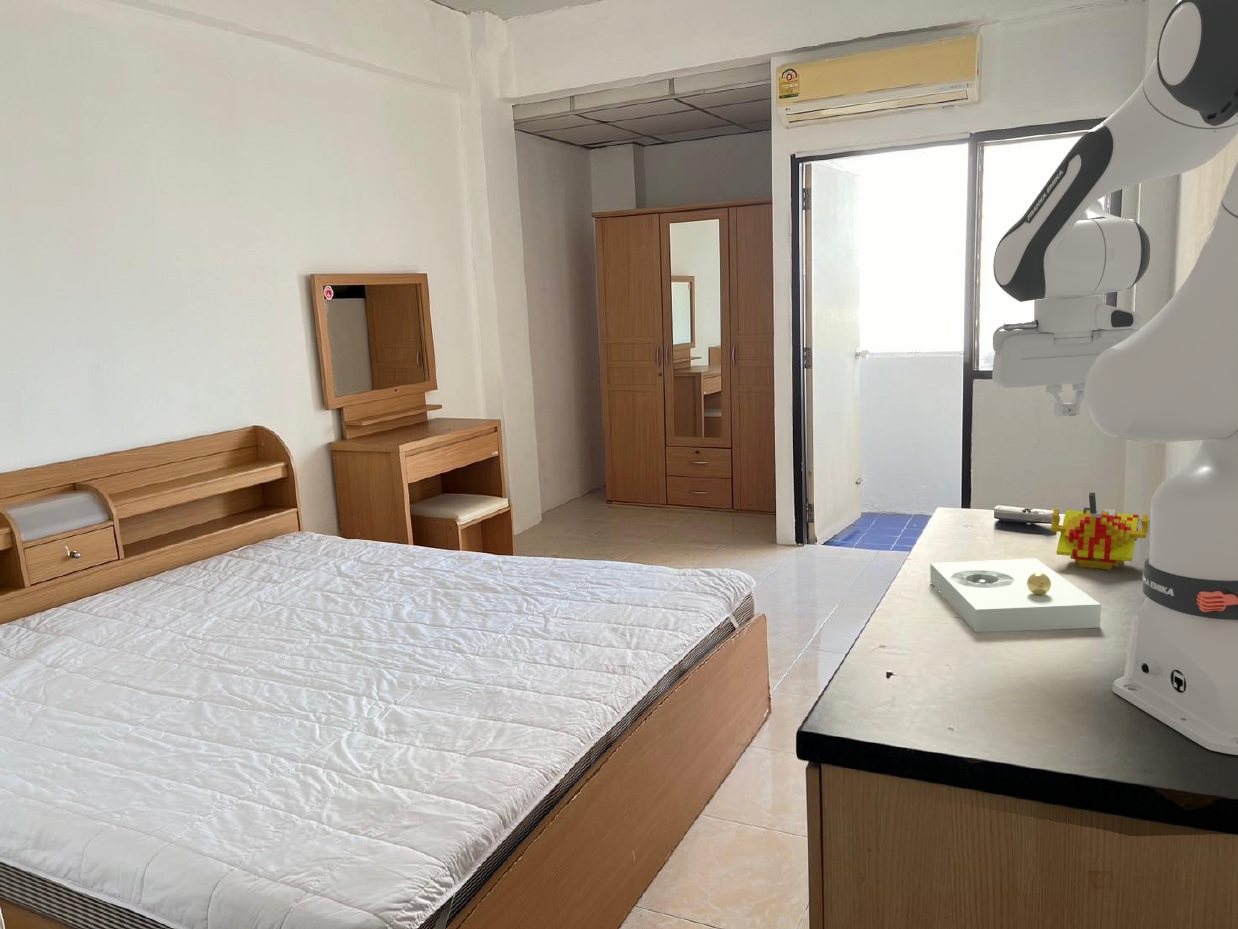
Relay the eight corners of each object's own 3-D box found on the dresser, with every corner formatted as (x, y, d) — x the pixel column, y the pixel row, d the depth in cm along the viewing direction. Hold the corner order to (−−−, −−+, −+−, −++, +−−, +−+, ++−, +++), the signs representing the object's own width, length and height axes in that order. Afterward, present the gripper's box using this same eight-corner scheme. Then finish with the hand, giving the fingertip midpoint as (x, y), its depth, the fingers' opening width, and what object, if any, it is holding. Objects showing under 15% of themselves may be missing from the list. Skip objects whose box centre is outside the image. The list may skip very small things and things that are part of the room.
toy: (1150, 546, 147) (1148, 476, 139) (1143, 589, 141) (1141, 519, 133) (1059, 538, 155) (1052, 471, 147) (1049, 579, 149) (1041, 512, 141)
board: (1100, 627, 119) (1100, 604, 119) (975, 632, 121) (976, 609, 120) (1035, 578, 141) (1035, 558, 140) (930, 582, 142) (930, 563, 142)
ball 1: (996, 601, 131) (995, 581, 131) (975, 603, 132) (974, 583, 131) (989, 595, 134) (988, 576, 134) (968, 597, 135) (967, 578, 134)
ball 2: (1054, 597, 123) (1054, 576, 122) (1031, 598, 123) (1031, 577, 122) (1045, 590, 126) (1045, 569, 125) (1023, 591, 126) (1023, 570, 125)
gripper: (1000, 323, 126) (1000, 422, 128) (1153, 313, 124) (1150, 413, 127) (985, 323, 132) (985, 417, 134) (1130, 313, 131) (1128, 409, 133)
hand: (1066, 415), depth 130 cm, fingers closed
